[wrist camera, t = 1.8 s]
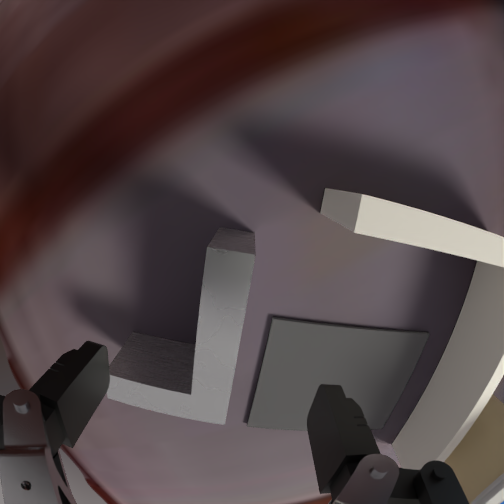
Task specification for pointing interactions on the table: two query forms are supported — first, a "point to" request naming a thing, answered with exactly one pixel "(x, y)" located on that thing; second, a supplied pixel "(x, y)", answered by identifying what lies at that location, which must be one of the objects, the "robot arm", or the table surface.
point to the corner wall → (466, 329)
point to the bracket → (190, 355)
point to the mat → (332, 370)
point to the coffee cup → (482, 456)
